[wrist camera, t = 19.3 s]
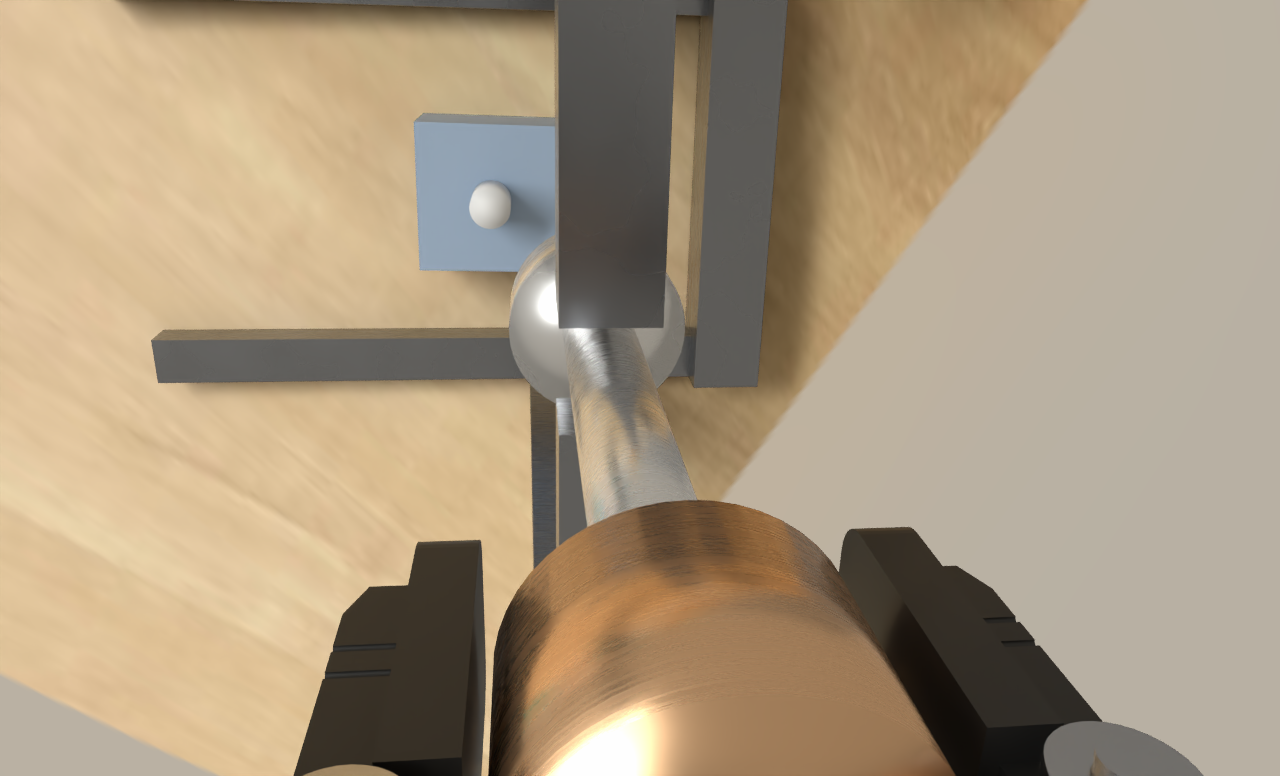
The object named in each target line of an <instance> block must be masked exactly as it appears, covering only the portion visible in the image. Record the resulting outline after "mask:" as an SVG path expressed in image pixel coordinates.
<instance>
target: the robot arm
mask: <svg viewBox="0 0 1280 776" xmlns="http://www.w3.org/2000/svg"><path fill="white" fill-rule="evenodd" d="M839 574H840V576H841V577H842V579H843V580H844V582H845V584H846V586H847V587H848V589H849V591H850V593H851V594H852V596H853V598H854V599H855V601H856V603H857V605H858V606H859V608H860V610H861V612H862V613H863V615H864V617H865V619H866V620H867V622H868V624H869V626H870V627H871V629H872V631H873V632H874V634H875V636H876V638H877V639H878V641H879V643H880V645H881V646H882V648H883V650H884V652H885V653H886V655H887V657H888V659H889V660H890V662H891V664H892V666H893V667H894V669H895V671H896V672H897V674H898V676H899V678H900V679H901V681H902V683H903V685H904V686H905V688H906V690H907V692H908V693H909V695H910V697H911V699H912V700H913V702H914V704H915V705H916V707H917V709H918V711H919V712H920V714H921V716H922V718H923V719H924V721H925V723H926V725H927V726H928V728H929V730H930V732H931V733H932V735H933V737H934V739H935V740H936V742H937V744H938V745H939V747H940V749H941V751H942V752H943V754H944V756H945V758H946V759H947V761H948V763H949V765H950V766H951V768H952V770H953V772H954V773H955V775H956V776H1203V775H1202V773H1201V772H1200V771H1199V770H1198V769H1197V768H1196V766H1194V765H1193V764H1192V763H1191V762H1190V761H1189V760H1188V759H1187V758H1186V757H1184V756H1183V755H1182V754H1180V753H1179V752H1178V751H1176V750H1175V749H1173V748H1172V747H1170V746H1169V745H1167V744H1165V743H1164V742H1162V741H1160V740H1158V739H1156V738H1154V737H1152V736H1150V735H1148V734H1145V733H1143V732H1140V731H1137V730H1135V729H1132V728H1129V727H1125V726H1122V725H1118V724H1112V723H1107V722H1102V720H1101V719H1100V718H1099V717H1098V715H1097V714H1096V713H1095V712H1094V711H1093V710H1092V708H1091V707H1090V706H1089V705H1088V703H1087V702H1086V701H1085V700H1084V699H1083V698H1082V696H1081V695H1080V694H1079V693H1078V691H1077V690H1076V689H1075V688H1074V687H1073V685H1072V684H1071V683H1070V682H1069V681H1068V679H1067V678H1066V677H1065V676H1064V674H1063V673H1062V672H1061V671H1060V670H1059V668H1058V667H1057V666H1056V665H1055V664H1054V662H1053V661H1052V660H1051V659H1050V658H1049V656H1048V655H1047V654H1046V653H1045V652H1044V651H1043V649H1042V648H1041V647H1040V646H1035V642H1034V638H1033V637H1032V636H1031V635H1030V634H1029V632H1028V631H1027V630H1026V629H1025V627H1024V626H1023V625H1022V624H1021V623H1020V622H1016V620H1015V615H1014V614H1013V613H1012V612H1011V611H1010V609H1009V608H1008V607H1007V606H1006V605H1005V603H1004V602H1003V601H1002V600H1001V599H1000V597H999V596H998V595H997V594H996V593H995V592H994V590H993V589H992V588H990V587H989V586H987V585H986V584H984V583H983V582H981V581H979V580H978V579H976V578H975V577H973V576H972V575H970V574H969V573H967V572H965V571H964V570H962V569H961V568H959V567H958V566H942V565H941V563H940V562H939V561H938V560H937V558H936V557H935V556H934V554H933V553H932V552H931V550H930V549H929V548H928V547H927V545H926V544H925V543H924V542H923V540H922V539H921V538H920V536H919V535H918V534H917V532H916V531H914V529H912V528H910V527H895V528H864V529H851V530H849V531H848V532H847V534H846V535H845V538H844V541H843V546H842V552H841V560H840V569H839ZM485 690H486V659H485V627H484V598H483V569H482V547H481V541H480V540H467V541H435V542H418V543H417V545H416V549H415V554H414V559H413V564H412V569H411V574H410V579H409V584H408V585H406V586H379V587H369V588H368V589H367V590H366V591H365V592H364V593H363V594H362V595H361V596H360V597H359V598H358V599H357V600H356V601H355V602H354V603H353V604H352V605H351V606H350V607H349V608H348V609H347V610H346V611H345V612H344V613H343V615H342V618H341V621H340V625H339V628H338V631H337V635H336V638H335V641H334V644H333V652H331V654H330V658H329V661H328V664H327V667H326V671H325V679H323V681H322V684H321V687H320V690H319V694H318V697H317V700H316V704H315V707H314V710H313V713H312V717H311V720H310V723H309V727H308V730H307V733H306V737H305V740H304V743H303V746H302V750H301V753H300V756H299V760H298V763H297V766H296V769H295V773H294V776H481V771H482V753H483V734H484V716H485Z"/></svg>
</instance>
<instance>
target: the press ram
mask: <svg viewBox="0 0 1280 776" xmlns="http://www.w3.org/2000/svg"><path fill="white" fill-rule="evenodd" d="M684 335H685V317H684V311H683V307H682V303H681V300H680V297H679V295H678V293H677V291H676V288H675V287H674V285H673V283H672V281H671V280H670V278H669V276H668V274H667V273H666V280H665V305H664V328H578V329H559V326H558V318H557V309H556V300H555V235H554V236H551V237H550V238H548V239H547V240H545V241H544V242H542V243H541V244H540V245H539V246H537V247H536V248H535V249H534V250H533V251H532V252H531V253H530V254H529V256H528V257H527V258H526V259H525V261H524V262H523V264H522V265H521V267H520V269H519V271H518V273H517V275H516V277H515V280H514V283H513V287H512V292H511V299H510V321H509V337H510V345H511V349H512V353H513V356H514V359H515V361H516V364H517V366H518V368H519V369H520V371H521V373H522V374H523V376H524V377H525V378H526V380H527V381H528V382H529V383H530V385H531V386H532V387H533V388H534V389H535V390H536V391H538V392H539V393H540V394H541V395H543V396H544V397H545V398H547V399H549V400H550V401H552V402H554V403H556V398H571V403H572V411H573V419H574V427H575V435H576V442H577V450H578V458H579V466H580V474H581V482H582V490H583V497H584V505H585V513H586V521H587V528H585V529H584V530H582V531H580V532H579V533H577V534H575V535H574V536H572V537H571V538H569V539H567V540H566V541H565V542H564V543H562V544H561V545H560V546H559V547H557V548H556V549H555V550H554V551H552V552H551V553H550V554H549V555H547V556H546V557H545V558H544V559H543V561H542V562H541V563H540V564H539V565H538V566H537V567H536V568H535V569H534V570H533V571H532V572H531V573H530V574H529V576H528V577H527V578H526V580H525V581H524V582H523V584H522V585H521V586H520V588H519V589H518V590H517V592H516V594H515V596H514V598H513V599H512V601H511V603H510V605H509V607H508V608H507V610H506V613H505V615H504V618H503V621H502V623H501V626H500V629H499V631H498V636H497V641H496V646H495V651H494V666H493V687H492V709H491V731H490V752H489V774H488V776H956V775H955V773H954V772H953V770H952V768H951V766H950V765H949V763H948V761H947V759H946V758H945V756H944V754H943V752H942V751H941V749H940V747H939V745H938V744H937V742H936V740H935V739H934V737H933V735H932V733H931V732H930V730H929V728H928V726H927V725H926V723H925V721H924V719H923V718H922V716H921V714H920V712H919V711H918V709H917V707H916V705H915V704H914V702H913V700H912V699H911V697H910V695H909V693H908V692H907V690H906V688H905V686H904V685H903V683H902V681H901V679H900V678H899V676H898V674H897V672H896V671H895V669H894V667H893V666H892V664H891V662H890V660H889V659H888V657H887V655H886V653H885V652H884V650H883V648H882V646H881V645H880V643H879V641H878V639H877V638H876V636H875V634H874V632H873V631H872V629H871V627H870V626H869V624H868V622H867V620H866V619H865V617H864V615H863V613H862V612H861V610H860V608H859V606H858V605H857V603H856V601H855V599H854V598H853V596H852V594H851V593H850V591H849V589H848V587H847V586H846V584H845V582H844V580H843V579H842V577H841V576H840V574H839V572H838V571H837V569H836V568H835V566H834V565H833V563H832V562H831V560H830V559H829V558H828V557H827V556H826V555H825V554H824V553H823V552H822V550H821V549H820V548H819V547H818V546H817V545H816V544H814V543H813V542H812V541H811V540H810V539H808V538H807V537H806V536H805V535H804V534H803V533H801V532H800V531H798V530H796V529H795V528H793V527H792V526H790V525H788V524H787V523H785V522H783V521H782V520H780V519H777V518H775V517H773V516H770V515H768V514H765V513H763V512H761V511H758V510H755V509H751V508H747V507H744V506H740V505H737V504H730V503H724V502H717V501H704V500H697V498H696V495H695V492H694V490H693V487H692V484H691V482H690V479H689V476H688V473H687V471H686V468H685V465H684V462H683V460H682V457H681V454H680V451H679V449H678V446H677V443H676V440H675V438H674V435H673V432H672V430H671V427H670V424H669V421H668V419H667V416H666V413H665V410H664V408H663V405H662V402H661V399H660V397H659V394H658V391H657V388H658V387H659V386H660V385H661V384H662V383H663V382H664V381H665V380H666V379H667V377H668V376H669V375H670V373H671V372H672V370H673V368H674V367H675V365H676V363H677V361H678V358H679V356H680V353H681V350H682V346H683V342H684Z"/></svg>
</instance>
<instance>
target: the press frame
mask: <svg viewBox="0 0 1280 776" xmlns="http://www.w3.org/2000/svg"><path fill="white" fill-rule="evenodd" d="M236 1H267V2H297V3H327V4H357V5H387V6H417V7H448V8H478V9H508V10H538V11H555V300H556V309H557V318H558V326H559V329H578V328H664V305H665V280H666V255H667V230H668V205H669V180H670V155H671V130H672V105H673V80H674V55H675V30H676V15H689V16H700V37H699V58H698V78H697V99H696V119H695V140H694V160H693V181H692V201H691V222H690V243H689V263H688V284H687V304H686V325H685V335H684V342H683V346H682V350H681V353H680V356H679V358H678V361H677V363H676V365H675V367H674V368H673V370H672V372H671V373H670V375H669V376H668V377H677V376H689V379H690V381H691V383H692V385H693V387H694V388H701V387H757V384H758V371H759V359H760V346H761V333H762V321H763V308H764V295H765V283H766V270H767V257H768V245H769V232H770V219H771V207H772V194H773V181H774V169H775V156H776V143H777V131H778V118H779V105H780V93H781V80H782V67H783V55H784V42H785V29H786V17H787V4H788V0H236ZM151 342H152V348H153V354H154V360H155V366H156V373H157V379H158V383H194V382H275V381H355V380H435V379H516V378H525V377H524V376H523V374H522V373H521V371H520V369H519V368H518V366H517V364H516V361H515V359H514V356H513V353H512V349H511V345H510V337H509V328H415V329H254V330H163V331H162V332H160V333H159V334H158V335H157V336H156V337H155V338H153V339H152V340H151ZM530 414H531V468H532V522H533V570H534V569H535V568H536V567H537V566H538V565H539V564H540V563H541V562H542V561H543V559H544V558H545V557H546V556H547V555H549V554H550V553H551V552H552V551H554V550H555V549H556V548H557V547H559V546H560V545H561V544H562V543H564V542H565V541H566V540H567V539H569V538H571V537H572V536H574V535H575V534H577V533H579V532H580V531H582V530H584V529H585V528H587V521H586V513H585V505H584V497H583V490H582V482H581V474H580V466H579V458H578V450H577V442H576V435H575V427H574V419H573V411H572V403H571V398H556V403H554V402H552V401H550V400H549V399H547V398H545V397H544V396H543V395H541V394H540V393H539V392H538V391H536V390H535V389H534V388H533V387H532V386H531V385H530Z"/></svg>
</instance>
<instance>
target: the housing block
mask: <svg viewBox="0 0 1280 776" xmlns="http://www.w3.org/2000/svg"><path fill="white" fill-rule="evenodd" d="M414 138H415V163H416V188H417V213H418V238H419V262H420V270H440V271H506V272H518V271H519V269H520V267H521V265H522V264H523V262H524V261H525V259H526V258H527V257H528V256H529V254H530V253H531V252H532V251H533V250H534V249H535V248H536V247H537V246H539V245H540V244H541V243H542V242H544V241H545V240H547V239H548V238H550V237H551V236H554V235H555V118H550V117H522V116H493V115H464V114H436V113H423V114H422V115H421V116H420V117H419V118H417V119H416V120H415V121H414Z"/></svg>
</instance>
